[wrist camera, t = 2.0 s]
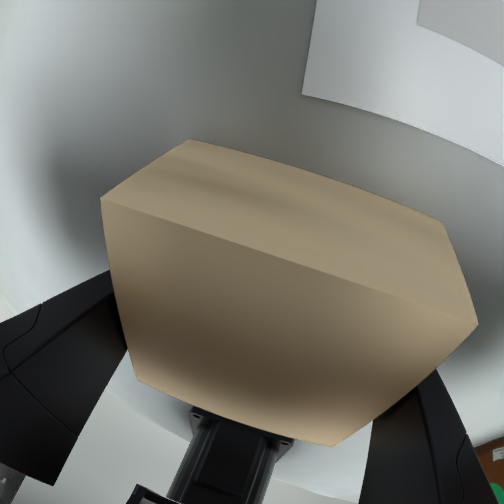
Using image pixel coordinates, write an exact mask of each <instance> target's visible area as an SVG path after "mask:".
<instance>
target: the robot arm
mask: <svg viewBox="0 0 504 504" xmlns="http://www.w3.org/2000/svg"><path fill="white" fill-rule="evenodd" d="M127 350H128V347H127V343H126V340H125V336H124V332H123V328H122V324H121V320H120V316H119V311H118V307H117V302H116V298H115V293H114V288H113V283H112V278H111V273H110V270H108V271H106V272H103V273H101V274H99V275H97V276H95V277H93V278H91V279H89V280H87V281H85V282H83V283H81V284H79V285H77V286H75V287H73V288H71V289H68V290H66V291H64V292H62V293H60V294H58V295H56V296H54V297H52V298H51V299H49V300H47V301H45V302H43V303H42V304H39V305H37V306H35V307H33V308H31V309H29V310H27V311H25V312H23V313H21V314H19V315H17V316H14V317H13V318H10V319H8V320H6V321H4V322H1V323H0V504H11V502H12V501H13V499H14V497H15V495H16V493H17V491H18V489H19V487H20V485H21V484H22V482H23V480H24V478H25V476H26V475H27V476H29V477H31V478H34V479H36V480H38V481H41V482H43V483H46V484H49V485H51V486H54V484H55V482H56V480H57V478H58V476H59V474H60V472H61V470H62V468H63V466H64V464H65V462H66V460H67V458H68V456H69V454H70V452H71V450H72V448H73V447H74V445H75V443H76V441H77V439H78V436H79V435H80V433H81V431H82V429H83V427H84V425H85V423H86V422H87V420H88V418H89V416H90V414H91V413H92V411H93V409H94V407H95V405H96V404H97V402H98V400H99V398H100V396H101V394H102V393H103V391H104V389H105V388H106V386H107V384H108V382H109V381H110V379H111V377H112V375H113V374H114V372H115V370H116V368H117V367H118V365H119V363H120V362H121V360H122V358H123V357H124V355H125V353H126V352H127ZM189 416H190V421H191V427H192V432H193V438H192V440H191V442H190V444H189V447H188V449H187V451H186V453H185V456H184V458H183V460H182V462H181V465H180V467H179V469H178V471H177V474H176V476H175V478H174V480H173V482H172V484H171V487H170V489H169V491H168V493H167V495H166V497H167V498H169V499H171V500H174V501H176V502H178V503H176V502H174V501H171V500H169V499H166V498H164V497H162V496H160V495H159V494H157V493H155V492H153V491H151V490H150V489H148V488H146V487H143V486H141V485H138V484H136V486H135V488H134V491H133V492H132V494H131V496H130V498H129V500H128V501H127V503H126V504H179V503H181V504H262V502H263V499H264V496H265V493H266V490H267V487H268V484H269V481H270V478H271V475H272V471H273V468H274V465H275V463H276V462H277V461H278V460H279V459H280V458H281V457H282V456H283V455H284V454H285V453H286V452H287V451H288V450H289V449H290V448H291V447H292V446H293V443H294V438H290V437H286V436H283V435H279V434H275V433H272V432H269V431H265V430H262V429H259V428H255V427H252V426H249V425H246V424H243V423H240V422H237V421H234V420H231V419H228V418H225V417H222V416H219V415H216V414H213V413H210V412H208V411H205V410H202V409H199V408H196V407H192V409H191V411H190V413H189ZM358 504H499V502H498V500H497V497H496V495H495V493H494V491H493V489H492V487H491V485H490V482H489V480H488V478H487V476H486V474H485V472H484V470H483V468H482V466H481V464H480V462H479V459H478V457H477V455H476V452H475V450H474V448H473V446H472V443H471V441H470V439H469V436H468V434H466V430H465V427H464V425H463V423H462V421H461V418H460V416H459V414H458V412H457V410H456V408H455V406H454V403H453V401H452V399H451V397H450V395H449V393H448V391H447V389H446V387H445V385H444V383H443V381H442V379H441V377H440V375H439V373H438V371H437V370H436V369H435V370H434V371H433V372H431V373H430V374H429V375H428V376H427V377H426V378H425V379H424V380H422V381H421V382H420V383H419V384H418V385H417V386H416V387H414V388H413V389H412V390H411V391H410V392H408V393H407V394H406V395H405V396H404V397H402V398H401V399H400V400H399V401H397V402H396V403H395V404H394V405H392V406H391V407H390V408H388V409H387V410H386V411H384V412H383V413H382V414H380V415H379V416H378V417H376V418H375V419H374V420H373V424H372V431H371V439H370V445H369V452H368V458H367V464H366V469H365V475H364V480H363V485H362V490H361V494H360V499H359V503H358Z"/></svg>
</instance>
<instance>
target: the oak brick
mask: <svg viewBox="0 0 504 504" xmlns="http://www.w3.org/2000/svg"><path fill="white" fill-rule="evenodd" d="M100 204H101V213H102V221H103V229H104V236H105V243H106V249H107V255H108V261H109V267H110V273H111V278H112V283H113V288H114V293H115V298H116V302H117V307H118V311H119V316H120V320H121V324H122V328H123V332H124V336H125V340H126V343H127V347H128V351H129V354H130V358H131V361H132V365H133V368H134V372H135V375H136V378H137V380H138V381H140V382H142V383H144V384H147V385H149V386H151V387H153V388H155V389H157V390H159V391H161V392H164V393H166V394H168V395H170V396H173V397H175V398H177V399H180V400H182V401H184V402H187V403H189V404H192V405H194V406H197V407H199V408H202V409H204V410H207V411H209V412H212V413H215V414H217V415H220V416H223V417H226V418H228V419H231V420H234V421H237V422H240V423H243V424H246V425H249V426H252V427H255V428H259V429H262V430H265V431H269V432H272V433H275V434H279V435H283V436H286V437H290V438H294V439H298V440H302V441H306V442H310V443H314V444H319V445H323V446H328V447H333V446H335V445H336V444H338V443H340V442H341V441H343V440H344V439H346V438H347V437H349V436H350V435H352V434H353V433H355V432H356V431H358V430H359V429H361V428H362V427H364V426H365V425H367V424H368V423H369V422H371V421H372V420H374V419H375V418H376V417H378V416H379V415H380V414H382V413H383V412H384V411H386V410H387V409H388V408H390V407H391V406H392V405H394V404H395V403H396V402H397V401H399V400H400V399H401V398H402V397H404V396H405V395H406V394H407V393H408V392H410V391H411V390H412V389H413V388H414V387H416V386H417V385H418V384H419V383H420V382H421V381H422V380H424V379H425V378H426V377H427V376H428V375H429V374H430V373H431V372H433V371H434V370H435V369H436V368H437V367H438V366H439V365H440V364H441V363H442V362H443V361H444V360H445V359H446V358H447V357H448V356H449V355H450V354H451V353H452V352H453V351H454V350H455V349H456V348H457V347H458V346H459V345H460V344H461V343H462V342H463V341H464V340H465V339H466V338H467V337H468V336H469V335H470V334H471V333H472V332H473V330H474V329H475V328H476V327H477V326H478V325H479V323H478V319H477V316H476V312H475V309H474V306H473V302H472V299H471V296H470V293H469V290H468V287H467V284H466V281H465V278H464V275H463V273H462V270H461V267H460V264H459V262H458V259H457V256H456V254H455V251H454V249H453V246H452V244H451V242H450V239H449V237H448V234H447V232H446V230H445V227H444V225H443V223H442V222H441V221H439V220H437V219H435V218H432V217H430V216H428V215H425V214H423V213H421V212H418V211H416V210H413V209H411V208H409V207H406V206H404V205H401V204H399V203H396V202H394V201H391V200H389V199H386V198H383V197H381V196H378V195H376V194H373V193H370V192H368V191H365V190H362V189H359V188H357V187H354V186H351V185H348V184H345V183H342V182H340V181H337V180H334V179H331V178H328V177H325V176H322V175H319V174H316V173H313V172H309V171H306V170H303V169H300V168H297V167H293V166H290V165H287V164H284V163H280V162H277V161H273V160H270V159H266V158H263V157H259V156H256V155H252V154H248V153H245V152H241V151H237V150H233V149H229V148H225V147H221V146H217V145H213V144H209V143H204V142H200V141H196V140H191V139H188V140H186V141H184V142H183V143H181V144H179V145H178V146H176V147H174V148H173V149H171V150H170V151H168V152H166V153H165V154H163V155H162V156H160V157H159V158H157V159H155V160H154V161H152V162H151V163H149V164H148V165H146V166H145V167H143V168H142V169H140V170H139V171H137V172H136V173H134V174H133V175H131V176H130V177H128V178H127V179H126V180H124V181H123V182H121V183H120V184H119V185H117V186H116V187H114V188H113V189H112V190H110V191H109V192H107V193H106V194H105V195H103V196H102V197H101V198H100Z"/></svg>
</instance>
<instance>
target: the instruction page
mask: <svg viewBox="0 0 504 504" xmlns="http://www.w3.org/2000/svg"><path fill="white" fill-rule="evenodd" d="M302 95H307V96H312V97H316V98H321V99H325V100H329V101H333V102H337V103H341V104H345V105H348V106H352V107H355V108H359V109H362V110H366V111H369V112H372V113H376V114H379V115H382V116H385V117H388V118H391V119H394V120H397V121H400V122H403V123H406V124H408V125H411V126H414V127H417V128H419V129H422V130H425V131H427V132H430V133H432V134H435V135H437V136H440V137H442V138H444V139H447V140H449V141H451V142H454V143H456V144H458V145H460V146H463V147H465V148H467V149H469V150H471V151H473V152H475V153H477V154H479V155H482V156H484V157H486V158H488V159H489V160H491V161H493V162H495V163H497V164H499V165H501V166H503V167H504V0H317V3H316V10H315V16H314V22H313V28H312V35H311V41H310V47H309V53H308V59H307V65H306V71H305V76H304V82H303V88H302Z"/></svg>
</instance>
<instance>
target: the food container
mask: <svg viewBox="0 0 504 504" xmlns="http://www.w3.org/2000/svg"><path fill="white" fill-rule="evenodd" d="M474 450H475V452H476V455H477V457H478V459H479V462H480V464H481V466H482V468H483V470H484V472H485V474H486V476H487V478H488V480H489V482H490V485H491V487H492V489H493V491H494V493H495V495H496V497H497V500H498V502H499V504H504V437H501V438H498V439H496V440H493V441H491V442H488V443H486V444H483V445H481V446H478V447H476V448H474Z"/></svg>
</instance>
